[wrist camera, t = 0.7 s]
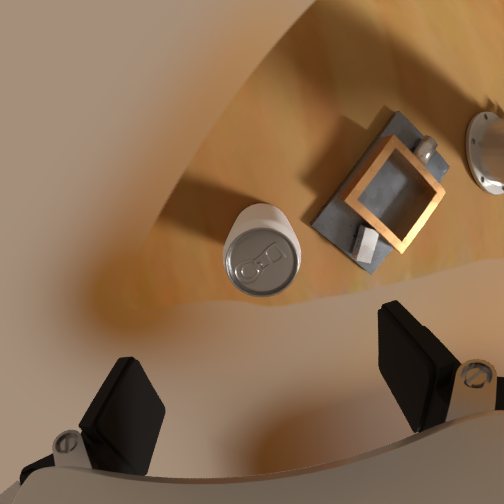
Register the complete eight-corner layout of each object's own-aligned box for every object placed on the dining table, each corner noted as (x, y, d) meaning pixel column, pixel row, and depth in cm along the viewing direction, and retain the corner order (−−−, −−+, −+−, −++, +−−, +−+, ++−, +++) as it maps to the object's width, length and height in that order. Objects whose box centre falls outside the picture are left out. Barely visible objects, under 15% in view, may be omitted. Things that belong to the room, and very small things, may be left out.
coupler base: (394, 112, 28) (410, 106, 24) (444, 166, 30) (463, 167, 26) (309, 223, 33) (316, 231, 29) (367, 271, 34) (379, 284, 30)
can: (222, 224, 33) (202, 255, 22) (267, 191, 32) (271, 204, 20) (256, 267, 34) (253, 316, 23) (300, 236, 33) (320, 272, 22)
